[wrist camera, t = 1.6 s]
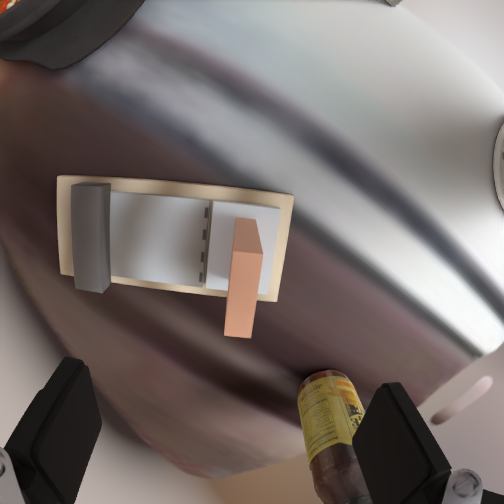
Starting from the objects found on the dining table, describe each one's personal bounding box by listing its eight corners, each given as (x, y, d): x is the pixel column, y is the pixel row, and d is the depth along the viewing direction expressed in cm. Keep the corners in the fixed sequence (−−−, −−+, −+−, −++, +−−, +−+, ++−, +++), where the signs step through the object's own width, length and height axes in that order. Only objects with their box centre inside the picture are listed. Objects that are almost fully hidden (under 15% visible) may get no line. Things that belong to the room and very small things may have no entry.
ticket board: (292, 194, 25) (301, 202, 21) (275, 296, 27) (280, 318, 24) (62, 175, 23) (39, 180, 19) (65, 270, 26) (46, 286, 22)
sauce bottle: (355, 391, 32) (414, 538, 13) (306, 412, 32) (340, 565, 14) (340, 354, 30) (411, 525, 11) (284, 378, 30) (316, 557, 12)
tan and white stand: (279, 207, 24) (300, 239, 15) (266, 290, 26) (278, 354, 18) (214, 199, 23) (200, 227, 15) (206, 284, 26) (192, 346, 17)
